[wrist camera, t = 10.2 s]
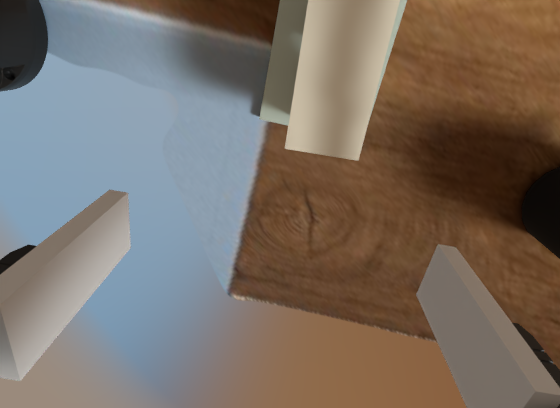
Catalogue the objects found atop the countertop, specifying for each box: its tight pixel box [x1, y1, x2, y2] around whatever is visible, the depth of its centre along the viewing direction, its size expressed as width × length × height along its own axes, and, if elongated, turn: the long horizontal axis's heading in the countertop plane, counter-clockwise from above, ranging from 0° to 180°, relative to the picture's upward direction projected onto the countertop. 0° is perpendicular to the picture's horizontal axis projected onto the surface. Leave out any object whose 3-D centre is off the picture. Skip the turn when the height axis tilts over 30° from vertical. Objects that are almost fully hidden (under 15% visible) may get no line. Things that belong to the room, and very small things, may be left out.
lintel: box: [285, 0, 400, 161], centre depth 27 cm, size 6×14×6 cm, turn 172°
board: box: [259, 0, 407, 125], centre depth 36 cm, size 12×16×1 cm
